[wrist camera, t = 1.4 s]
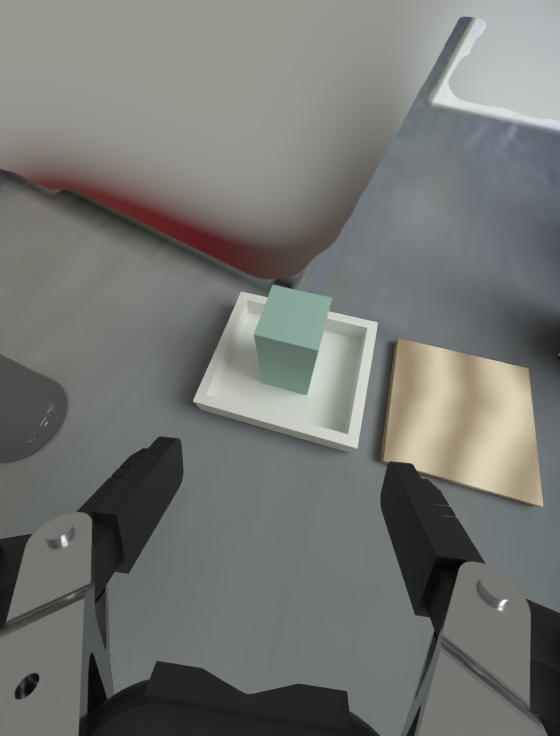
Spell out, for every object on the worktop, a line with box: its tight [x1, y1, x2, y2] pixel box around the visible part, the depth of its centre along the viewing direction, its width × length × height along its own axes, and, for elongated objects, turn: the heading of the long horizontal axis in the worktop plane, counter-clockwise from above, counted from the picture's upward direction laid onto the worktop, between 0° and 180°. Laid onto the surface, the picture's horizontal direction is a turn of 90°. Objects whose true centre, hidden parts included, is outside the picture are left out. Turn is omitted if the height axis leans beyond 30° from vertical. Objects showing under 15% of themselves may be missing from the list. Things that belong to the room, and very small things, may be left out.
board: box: [380, 338, 543, 507], centre depth 28 cm, size 14×14×1 cm
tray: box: [193, 292, 378, 453], centre depth 29 cm, size 16×14×3 cm
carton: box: [254, 285, 332, 395], centre depth 26 cm, size 5×5×10 cm
